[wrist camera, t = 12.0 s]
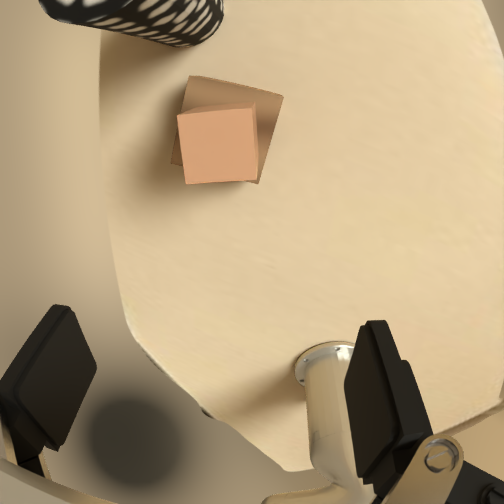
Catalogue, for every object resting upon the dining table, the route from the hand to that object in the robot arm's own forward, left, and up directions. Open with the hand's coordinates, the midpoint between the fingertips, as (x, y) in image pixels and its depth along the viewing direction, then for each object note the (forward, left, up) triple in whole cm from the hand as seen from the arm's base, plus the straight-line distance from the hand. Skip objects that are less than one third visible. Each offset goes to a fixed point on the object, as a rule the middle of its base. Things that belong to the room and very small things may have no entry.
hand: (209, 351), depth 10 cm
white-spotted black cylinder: (+16, +7, -29) cm, 34 cm away
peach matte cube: (+3, +2, -24) cm, 24 cm away
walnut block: (+3, +2, -29) cm, 29 cm away
